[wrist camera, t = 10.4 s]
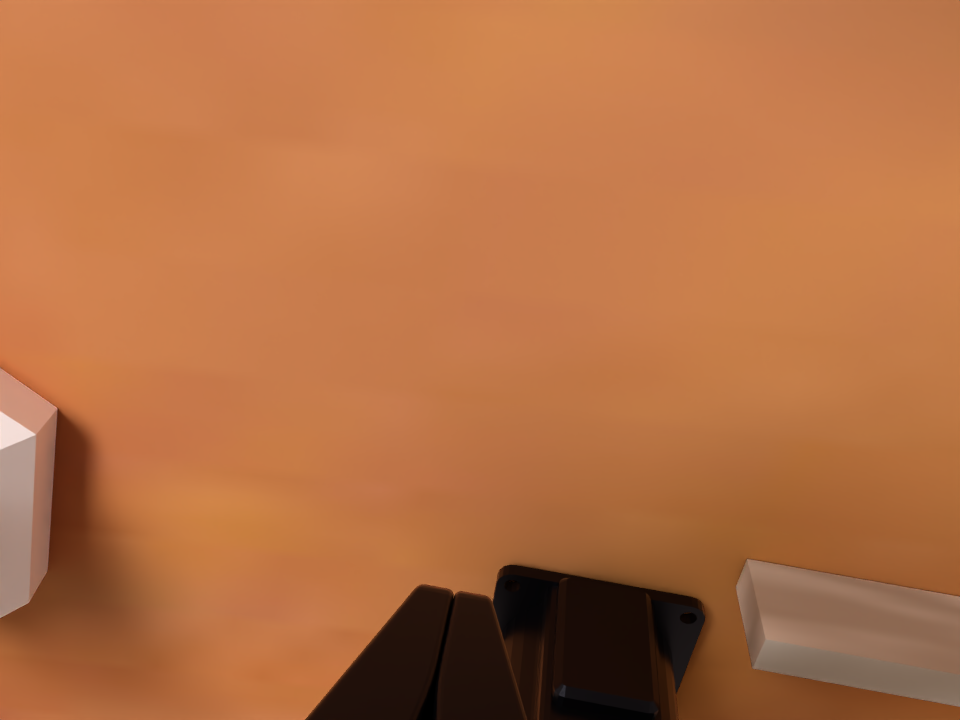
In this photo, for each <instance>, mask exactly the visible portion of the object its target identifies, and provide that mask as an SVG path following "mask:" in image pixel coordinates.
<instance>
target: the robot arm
mask: <svg viewBox="0 0 960 720" xmlns="http://www.w3.org/2000/svg"><path fill="white" fill-rule="evenodd" d="M508 580H514V581H517V582H510V581H508ZM686 612H691V613H690V614H684V613H686ZM704 621H705V613H704V607H703V605H702V603H701V602H700V601H699V600H698V599H696V598H693V597H688V596H683V595H677V594H672V593H666V592H661V591H655V590H650V589H644V588H639V587H633V586H628V585H622V584H617V583H611V582H605V581H600V580H594V579H589V578H583V577H578V576H572V575H567V574H561V573H556V572H550V571H545V570H539V569H534V568H528V567H523V566H517V565H508V566H504V567H503V568H501V569H500V570H499V572H498V576H497V581H496V587H495V592H494V598H493V603H492V601H491V599H490V598H489V597H488V596H485V595H480V594H474V593H469V592H463V591H459V592H457V593H456V594H455V596H454V595H453V592H452V591H451V590H450V589H447V588H441V587H436V586H430V585H419V586H418V587H416V588H415V589H414V590H413V592H412V593H411V594H410V595H409V596H408V598H407V599H406V600H405V601H404V602H403V603H402V605H401V606H400V607H399V608H398V609H397V611H396V612H395V613H394V614H393V615H392V617H391V618H390V619H389V620H388V621H387V623H386V624H385V625H384V626H383V627H382V629H381V630H380V631H379V632H378V633H377V635H376V636H375V637H374V638H373V639H372V640H371V642H370V643H369V644H368V645H367V646H366V648H365V649H364V650H363V651H362V652H361V654H360V655H359V656H358V657H357V658H356V660H355V661H354V662H353V663H352V664H351V666H350V667H349V668H348V669H347V670H346V672H345V673H344V674H343V675H342V676H341V678H340V679H339V680H338V681H337V682H336V683H335V685H334V686H333V687H332V688H331V689H330V691H329V692H328V693H327V694H326V695H325V697H324V698H323V699H322V700H321V701H320V703H319V704H318V705H317V706H316V707H315V709H314V710H313V711H312V712H311V713H310V715H309V716H308V717H307V718H306V719H305V720H679V719H678V709H677V699H676V693H677V691H678V688H679V686H680V683H681V681H682V678H683V675H684V673H685V670H686V668H687V665H688V663H689V660H690V657H691V655H692V652H693V650H694V647H695V645H696V642H697V639H698V637H699V634H700V632H701V629H702V627H703V624H704Z"/></svg>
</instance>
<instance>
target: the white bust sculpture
mask: <svg viewBox="0 0 960 720" xmlns="http://www.w3.org/2000/svg"><path fill="white" fill-rule="evenodd" d="M57 410H58V408H57V407H55V406H54V405H52V404H51V403H49V402H48V401H47V400H45V399H44V398H42V397H41V396H40V395H38V394H37V393H35V392H34V391H32V390H31V389H30V388H28V387H27V386H25V385H24V384H22V383H21V382H20V381H18V380H17V379H15V378H14V377H13V376H11V375H10V374H8V373H7V372H5V371H4V370H3V369H1V368H0V618H1V617H3V616H5V615H7V614H9V613H11V612H13V611H15V610H16V609H18V608H20V607H22V606H24V605H26V604H28V603H29V602H30V600H31V598H32V597H33V595H34V593H35V592H36V590H37V588H38V586H39V585H40V583H41V581H42V580H43V578H44V576H45V575H46V573H47V571H48V559H49V542H50V526H51V509H52V493H53V476H54V460H55V443H56V427H57Z"/></svg>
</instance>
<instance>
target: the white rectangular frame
mask: <svg viewBox="0 0 960 720" xmlns="http://www.w3.org/2000/svg"><path fill="white" fill-rule="evenodd" d="M736 591H737V596H738V601H739V605H740V610H741V615H742V620H743V625H744V630H745V635H746V640H747V644H748V649H749V654H750V659H751V664H752V669H758V670H763V671H769V672H774V673H780V674H785V675H790V676H796V677H801V678H807V679H812V680H817V681H823V682H828V683H834V684H839V685H845V686H850V687H855V688H861V689H866V690H872V691H877V692H882V693H888V694H893V695H899V696H904V697H909V698H915V699H920V700H926V701H931V702H937V703H942V704H947V705H953V706H958V707H960V597H959V596H953V595H948V594H942V593H937V592H931V591H925V590H920V589H914V588H909V587H903V586H897V585H892V584H886V583H880V582H875V581H869V580H864V579H858V578H852V577H847V576H841V575H836V574H830V573H824V572H819V571H813V570H807V569H802V568H796V567H791V566H785V565H779V564H774V563H768V562H762V561H757V560H751V559H747V560H746V563H745V565H744V568H743V570H742V573H741V575H740V578H739V580H738V583H737V585H736Z"/></svg>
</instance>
